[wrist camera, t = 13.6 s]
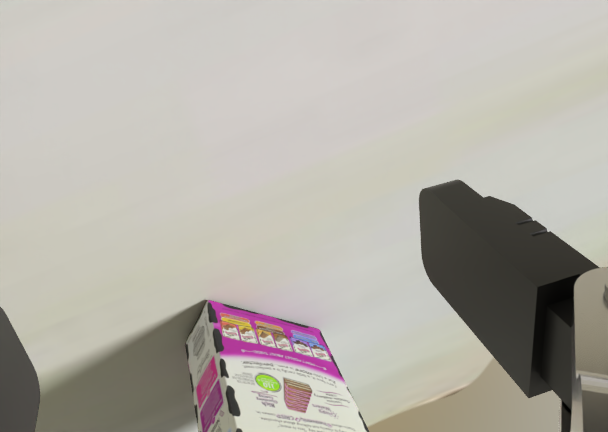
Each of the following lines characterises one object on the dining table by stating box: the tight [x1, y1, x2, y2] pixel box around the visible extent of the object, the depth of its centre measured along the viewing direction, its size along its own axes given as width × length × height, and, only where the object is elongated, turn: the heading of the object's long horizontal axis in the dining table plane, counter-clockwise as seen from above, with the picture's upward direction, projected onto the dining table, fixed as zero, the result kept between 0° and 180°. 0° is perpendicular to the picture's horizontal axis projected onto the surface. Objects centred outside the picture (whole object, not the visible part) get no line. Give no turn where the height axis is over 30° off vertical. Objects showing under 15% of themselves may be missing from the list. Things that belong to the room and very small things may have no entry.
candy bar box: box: [185, 300, 369, 432], centre depth 41 cm, size 11×5×16 cm, turn 62°
